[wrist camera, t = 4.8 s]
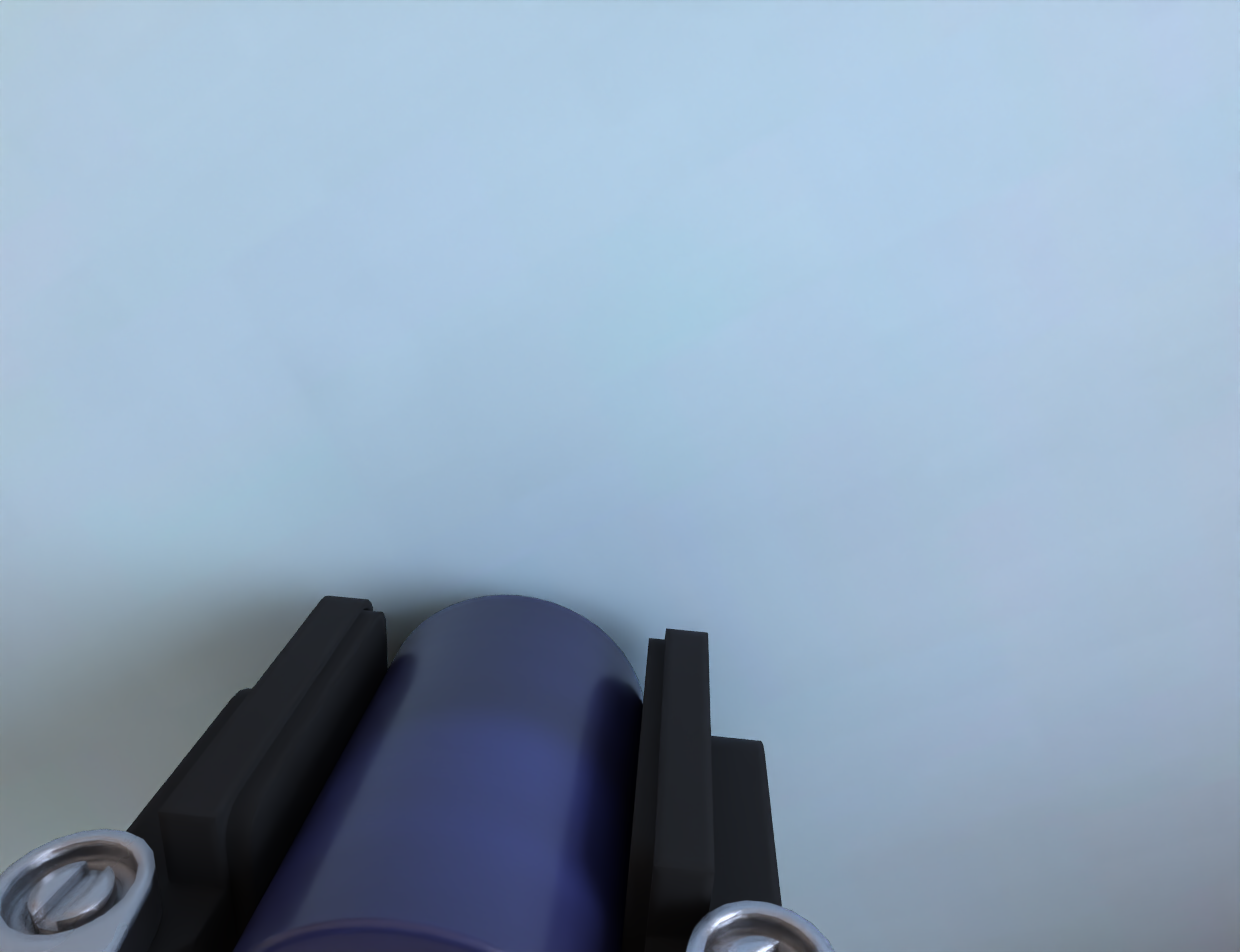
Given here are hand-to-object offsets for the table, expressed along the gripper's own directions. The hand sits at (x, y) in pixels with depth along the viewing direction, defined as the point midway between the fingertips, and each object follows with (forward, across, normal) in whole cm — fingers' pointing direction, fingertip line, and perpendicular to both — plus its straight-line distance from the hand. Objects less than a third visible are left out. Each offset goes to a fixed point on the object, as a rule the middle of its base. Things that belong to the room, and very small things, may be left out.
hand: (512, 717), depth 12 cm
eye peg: (0, 0, 0) cm, 0 cm away
